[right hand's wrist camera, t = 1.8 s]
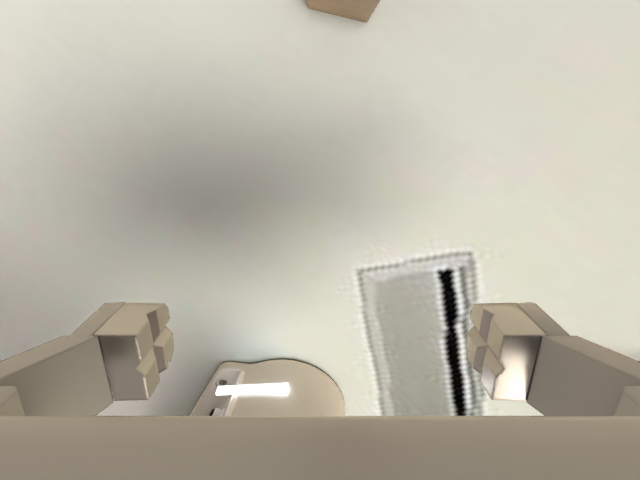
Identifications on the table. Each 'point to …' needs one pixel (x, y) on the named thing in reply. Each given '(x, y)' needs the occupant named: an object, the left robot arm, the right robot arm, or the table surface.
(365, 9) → the bar
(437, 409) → the table surface
